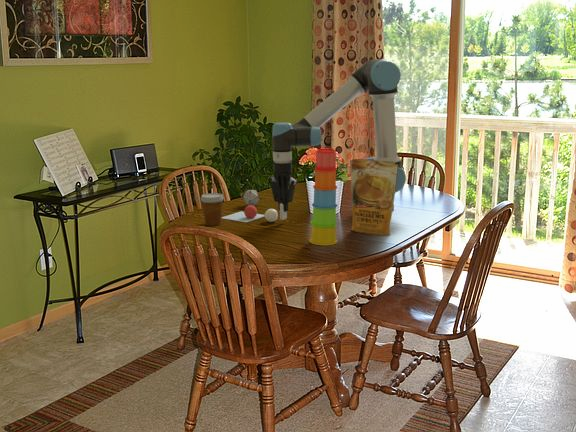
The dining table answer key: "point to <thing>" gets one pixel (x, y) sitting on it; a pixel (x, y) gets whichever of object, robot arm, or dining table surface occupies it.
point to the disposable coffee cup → (212, 208)
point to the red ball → (250, 211)
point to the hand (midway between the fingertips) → (283, 218)
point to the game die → (251, 197)
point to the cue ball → (271, 215)
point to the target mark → (241, 217)
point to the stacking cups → (324, 199)
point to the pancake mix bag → (372, 195)
